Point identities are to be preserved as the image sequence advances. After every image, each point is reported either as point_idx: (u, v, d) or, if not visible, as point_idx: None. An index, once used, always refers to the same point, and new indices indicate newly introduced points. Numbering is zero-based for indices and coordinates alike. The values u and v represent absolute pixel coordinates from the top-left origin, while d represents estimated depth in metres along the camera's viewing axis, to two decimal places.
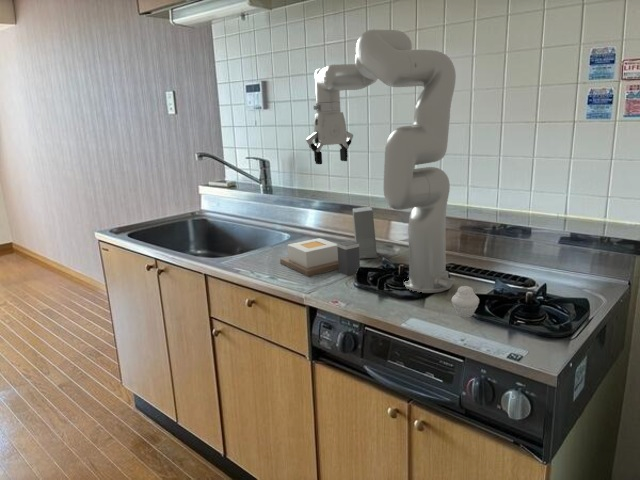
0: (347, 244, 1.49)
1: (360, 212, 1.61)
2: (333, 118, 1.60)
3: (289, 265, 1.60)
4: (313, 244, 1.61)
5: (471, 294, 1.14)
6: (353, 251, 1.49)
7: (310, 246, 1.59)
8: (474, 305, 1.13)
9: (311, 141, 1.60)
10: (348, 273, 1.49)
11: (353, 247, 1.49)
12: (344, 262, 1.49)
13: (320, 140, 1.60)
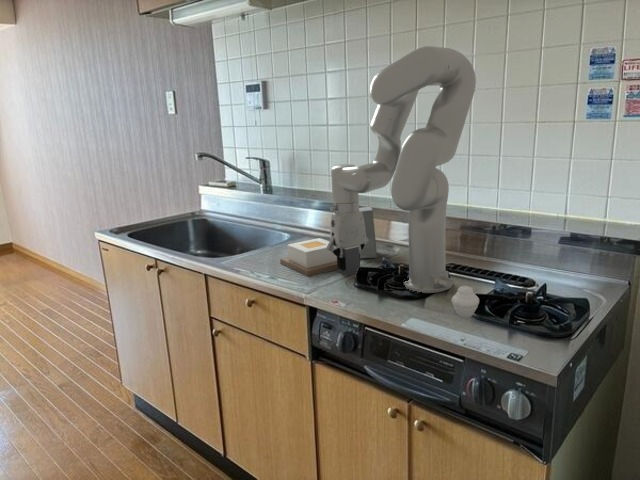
0: None
1: None
2: (352, 219, 1.46)
3: (289, 265, 1.60)
4: (313, 244, 1.61)
5: (471, 294, 1.14)
6: (353, 251, 1.49)
7: (310, 246, 1.59)
8: (474, 305, 1.13)
9: (332, 248, 1.47)
10: (348, 273, 1.49)
11: (353, 247, 1.49)
12: None
13: (337, 243, 1.46)
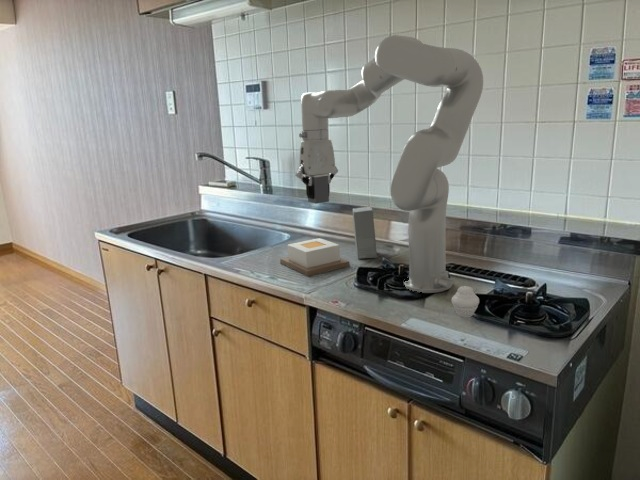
0: None
1: (360, 212, 1.61)
2: (320, 147, 1.48)
3: (289, 265, 1.60)
4: (313, 244, 1.61)
5: (471, 294, 1.14)
6: (321, 180, 1.51)
7: (310, 246, 1.59)
8: (474, 305, 1.13)
9: (301, 176, 1.49)
10: (317, 201, 1.52)
11: (322, 175, 1.51)
12: None
13: (306, 170, 1.48)
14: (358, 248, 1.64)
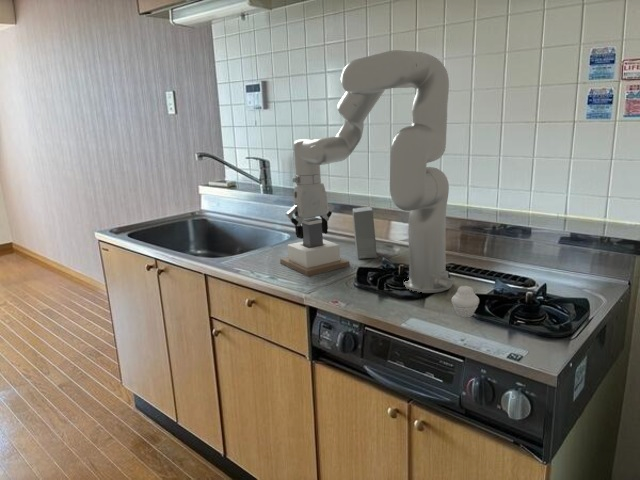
0: (310, 220, 1.57)
1: (360, 212, 1.61)
2: (313, 190, 1.54)
3: (289, 265, 1.60)
4: None
5: (471, 294, 1.14)
6: (315, 227, 1.57)
7: None
8: (474, 305, 1.13)
9: (291, 216, 1.54)
10: (311, 247, 1.58)
11: (316, 223, 1.57)
12: (307, 237, 1.58)
13: (299, 214, 1.54)
14: (358, 248, 1.64)
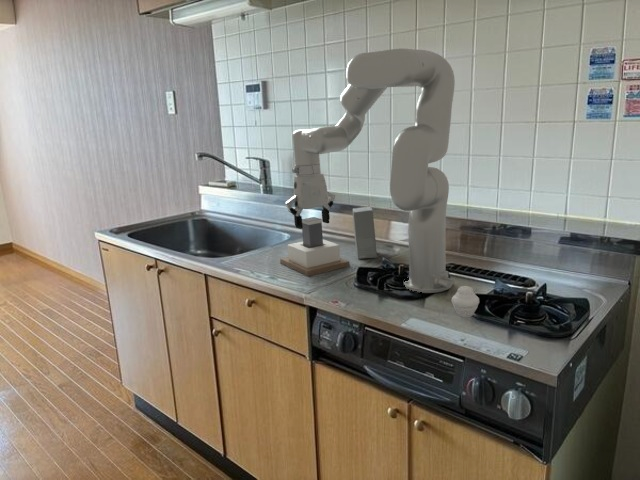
0: (310, 220, 1.57)
1: (360, 212, 1.61)
2: (313, 181, 1.53)
3: (289, 265, 1.60)
4: None
5: (471, 294, 1.14)
6: (315, 227, 1.57)
7: None
8: (474, 305, 1.13)
9: (290, 205, 1.53)
10: (311, 247, 1.58)
11: (316, 223, 1.57)
12: (307, 237, 1.58)
13: (300, 204, 1.53)
14: (358, 248, 1.64)
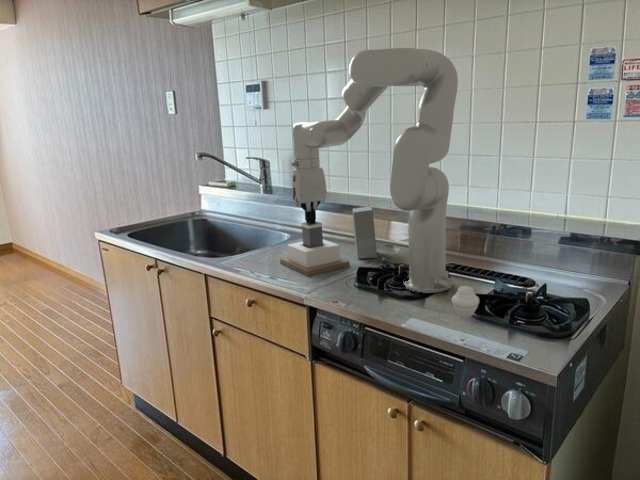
0: (310, 224, 1.57)
1: (360, 212, 1.61)
2: (312, 174, 1.53)
3: (289, 265, 1.60)
4: None
5: (471, 294, 1.14)
6: (316, 231, 1.57)
7: None
8: (474, 305, 1.13)
9: (299, 203, 1.55)
10: None
11: (316, 226, 1.57)
12: (308, 240, 1.58)
13: (298, 198, 1.53)
14: (358, 248, 1.64)
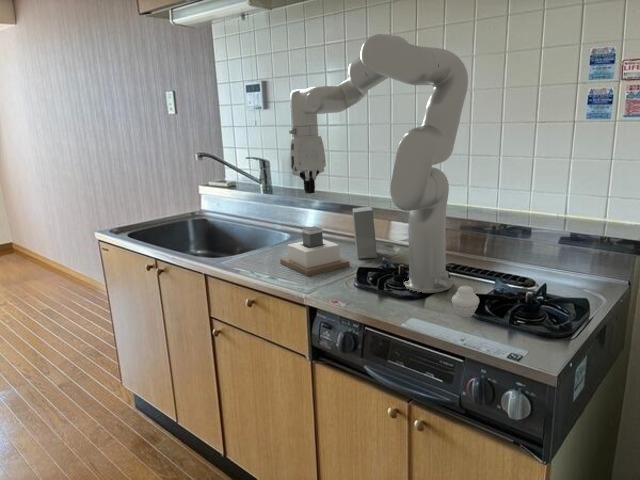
0: (311, 229, 1.58)
1: (360, 212, 1.61)
2: (310, 142, 1.50)
3: (289, 265, 1.60)
4: None
5: (471, 294, 1.14)
6: (316, 236, 1.58)
7: None
8: (474, 305, 1.13)
9: (298, 172, 1.52)
10: None
11: (316, 232, 1.58)
12: (308, 246, 1.58)
13: (296, 166, 1.50)
14: (358, 248, 1.64)
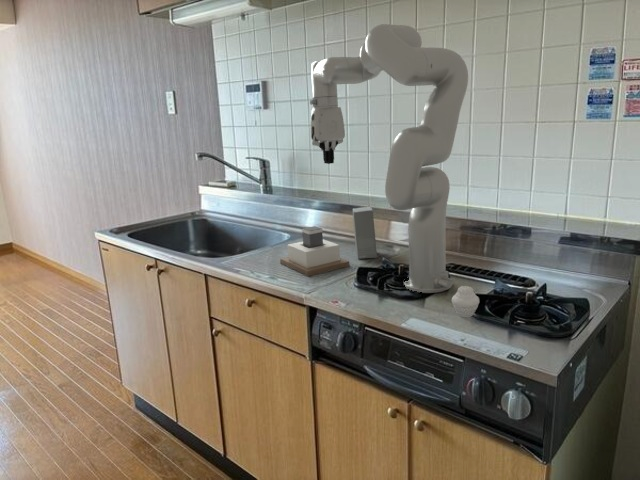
0: (311, 229, 1.58)
1: (360, 212, 1.61)
2: (331, 113, 1.54)
3: (289, 265, 1.60)
4: None
5: (471, 294, 1.14)
6: (316, 236, 1.58)
7: None
8: (474, 305, 1.13)
9: (318, 142, 1.56)
10: None
11: (316, 232, 1.58)
12: (308, 246, 1.58)
13: (317, 136, 1.54)
14: (358, 248, 1.64)
